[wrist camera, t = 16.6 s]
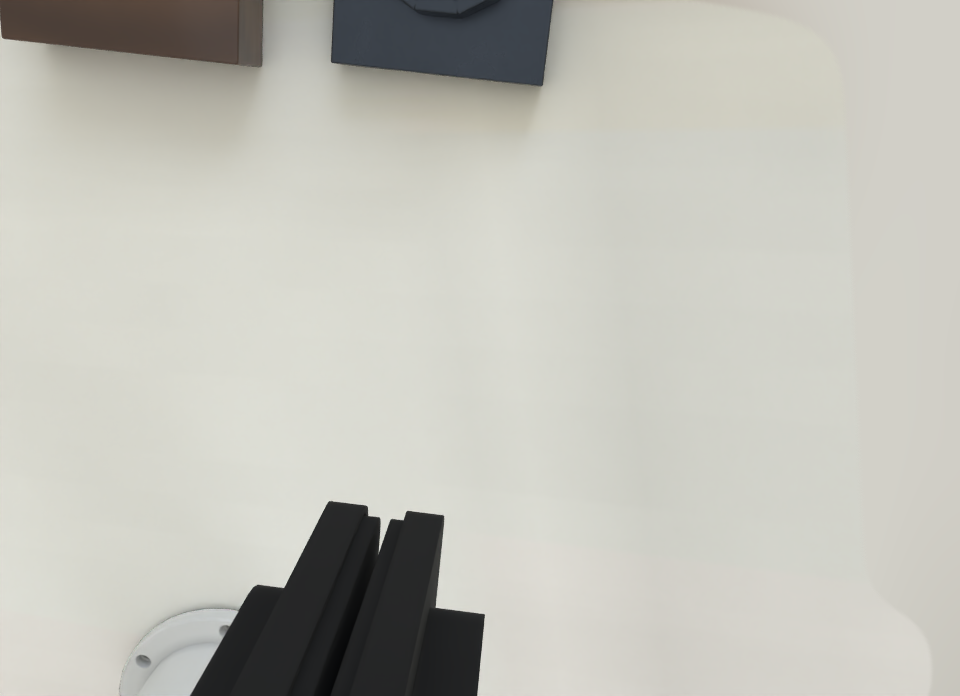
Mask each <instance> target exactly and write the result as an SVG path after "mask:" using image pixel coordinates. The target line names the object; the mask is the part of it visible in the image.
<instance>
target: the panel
mask: <svg viewBox="0 0 960 696" xmlns="http://www.w3.org/2000/svg"><path fill="white" fill-rule="evenodd" d="M0 21H1V34H2V38H3V39H10V40H19V41H28V42H37V43H46V44H55V45H63V46H72V47H81V48H90V49H99V50H108V51H117V52H126V53H135V54H144V55H153V56H162V57H171V58H180V59H189V60H198V61H207V62H216V63H225V64H234V65H243V66H253V67H261V66H262V22H263V0H0Z"/></svg>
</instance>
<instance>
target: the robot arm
mask: <svg viewBox="0 0 960 696" xmlns="http://www.w3.org/2000/svg"><path fill="white" fill-rule="evenodd" d="M380 524H381V523H380V518H379V517H371V516H368V507H367V506H364V505H356V504H349V503H341V502H333V501H329V502H328V504H327V505H326V507H325V509H324V511H323V513H322V515H321V517H320V519H319V521H318V523H317V525H316V527H315V529H314V531H313V533H312V535H311V537H310V539H309V541H308V542H307V544H306V546H305V548H304V550H303V552H302V554H301V556H300V558H299V560H298V562H297V564H296V566H295V568H294V570H293V572H292V574H291V576H290V578H289V580H288V582H287V584H286V586H285V588H278V587H270V586H263V585H257V586H255V587H253V589H252V590H251V591H250V593H249V594H248V596H247V597H246V599H245V601H244V603H243V604H242V606H241V608H240V610H239V611H236V610H230V609H202V610H196V611H190V612H186V613H183V614H180V615H177V616H175V617H172V618H169V619H167V620H166V621H164V622H163V623H161V624H159V625H158V626H156V627H154V628H153V629H152V630H151V631H150V632H149V633H148V634H147V635H146V636H145V637H144V638H143V639H142V640H141V641H140V642H139V644H138V645H137V646H136V648H135V649H134V651H133V652H132V653H131V655H130V656H129V658H128V661H127V663H126V665H125V667H124V669H123V671H122V676H121V681H120V687H119V692H120V696H477V692H478V681H479V671H480V660H481V650H482V639H483V629H484V618H485V614H478V613H470V612H463V611H455V610H447V609H440V608H435V606H436V597H437V587H438V577H439V567H440V557H441V548H442V538H443V528H444V515H436V514H428V513H420V512H412V511H407V512H406V515H405V518H404V521H403V520H395V519H391V520H390V523H389V526H388V528H387V531H386V534H385V537H384V540H383V543H382V546H381V549H380V552H379V539H380ZM378 553H379V555H378Z"/></svg>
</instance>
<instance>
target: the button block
mask: <svg viewBox="0 0 960 696" xmlns="http://www.w3.org/2000/svg"><path fill="white" fill-rule="evenodd" d="M552 6H553V0H334V7H333V30H332V53H331V62H332V63H336V64H343V65H352V66H361V67H370V68H379V69H388V70H397V71H406V72H415V73H424V74H433V75H442V76H451V77H460V78H469V79H478V80H487V81H496V82H505V83H514V84H523V85H532V86H542V85H543V79H544V71H545V63H546V55H547V47H548V39H549V31H550V22H551V14H552Z"/></svg>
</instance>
